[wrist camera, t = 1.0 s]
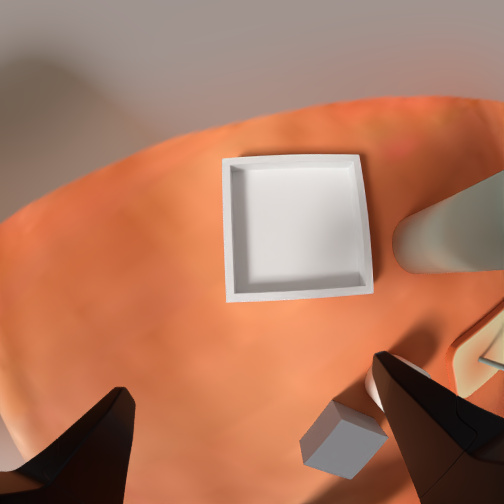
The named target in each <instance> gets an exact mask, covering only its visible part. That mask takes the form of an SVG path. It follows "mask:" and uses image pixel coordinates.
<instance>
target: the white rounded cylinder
mask: <svg viewBox="0 0 504 504" xmlns="http://www.w3.org/2000/svg"><path fill="white" fill-rule="evenodd" d="M393 356H395V357H396V358H398V359H400V360H401V361H403V362H404V363H406V364H408V365H409V366H411V367H413V368H414V369H416V370H417V371H419V372H421V373H422V374H424V375H426V376H427V377H429V378H430V379H431V377H430V375H429V374H428V373H427V372H426V371H424V370H423V369H421V368H419V367H418V366H416V365H414V364H412V363H411V362H409V361H407V360H406V359H404V358H402V357H400V356H398V355H393ZM365 389H366V391H367V393H368V394H369V395H370V397H371V398H372V399H373V400H374V401H375V402H376V404H377V405H378V406H379V407H380V408H381V409H382V411H383V408H382V405H381V401H380V398H379V395H378V391H377V388H376V385H375V382H374V379H373V375H372V366H371V367H370V368H369V370H368V372H367V374H366V378H365ZM383 412H384V411H383Z"/></svg>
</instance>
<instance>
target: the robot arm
mask: <svg viewBox="0 0 504 504" xmlns="http://www.w3.org/2000/svg"><path fill="white" fill-rule="evenodd" d="M372 375H373V379H374V382H375V385H376V388H377V391H378V395H379V398H380V401H381V405H382V408H383V411H384V413H385V416H386V418H387V420H388V422H389V425H390V427H391V429H392V432H393V434H394V436H395V439H396V441H397V443H398V446H399V448H400V451H401V453H402V456H403V458H404V461H405V463H406V465H407V468H408V471H409V473H410V476H411V478H412V481H413V483H414V486H415V489H416V491H417V494H418V497H419V499H420V503H421V504H504V418H502V417H500V416H498V415H495V414H493V413H491V412H489V411H486V410H484V409H482V408H480V407H478V406H476V405H474V404H472V403H470V402H469V401H467V400H465V399H463V398H462V397H460V396H458V395H457V396H456V394H455V393H453V392H452V391H450V390H448V389H447V388H445V387H444V386H442V385H440V384H439V383H437V382H435V381H434V380H432V379H430V378H429V377H427V376H426V375H424V374H422V373H421V372H419V371H417V370H416V369H414V368H413V367H411V366H409V365H408V364H406V363H404V362H403V361H401V360H400V359H398V358H396V357H395V356H393V355H392V354H390V353H388V352H387V351H381V352H378V353H375V354H374V356H373V364H372ZM135 407H136V405H135V401H134V399H133V398H132V396H131V394H130V393H129V391H128V390H127V389H126V388H125V387H115V388H113V389H112V390H111V391H110V392H109V393H108V394H107V395H106V396H105V397H103V398H102V399H101V400H100V401H99V402H98V403H97V404H96V405H94V406H93V407H92V408H91V409H90V410H89V411H88V412H87V413H85V414H84V415H83V416H82V417H81V418H80V419H79V420H78V421H76V422H75V423H74V424H73V425H72V426H71V427H70V428H69V429H67V430H66V431H65V432H64V433H63V434H62V435H61V436H60V437H58V439H56V440H55V441H54V442H53V443H52V444H50V445H49V446H48V447H47V448H46V449H44V450H43V451H42V452H40V453H39V454H38V455H36V456H35V457H34V458H32V459H31V460H29V461H28V462H27V463H25V464H24V465H22V466H21V467H19V468H18V469H16V470H13V471H8V472H0V504H123V500H124V492H125V485H126V478H127V471H128V465H129V459H130V453H131V447H132V441H133V432H134V419H135Z"/></svg>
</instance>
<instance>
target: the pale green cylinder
mask: <svg viewBox="0 0 504 504" xmlns="http://www.w3.org/2000/svg"><path fill="white" fill-rule="evenodd" d="M392 248H393V253H394V256H395V258H396V260H397V262H398V263H399V265H400V266H401V267H402V268H403V269H404V270H405V271H407V272H409V273H411V274H440V273H460V272H477V271H493V270H504V170H503V171H501V172H499V173H497V174H495V175H493V176H491V177H489V178H487V179H485V180H483V181H481V182H479V183H477V184H475V185H473V186H471V187H469V188H467V189H465V190H463V191H461V192H459V193H457V194H455V195H453V196H451V197H449V198H446V199H444V200H442V201H440V202H438V203H436V204H434V205H432V206H430V207H428V208H425V209H423V210H421V211H419V212H417V213H415V214H413V215H411V216H408V217H406V218H404V219H403V220H401V221H400V222H399V224H398V225H397V227H396V228H395V231H394V234H393V239H392Z"/></svg>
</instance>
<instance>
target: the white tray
mask: <svg viewBox="0 0 504 504" xmlns="http://www.w3.org/2000/svg"><path fill="white" fill-rule="evenodd" d="M222 185H223V226H224V256H225V281H226V302H251V301H273V300H292V299H308V298H323V297H336V296H349V295H360V294H371V293H374V291H373V269H372V254H371V241H370V230H369V221H368V212H367V204H366V196H365V189H364V182H363V176H362V169H361V163H360V158H359V155H350V154H298V155H270V156H252V157H237V158H225V159H222Z"/></svg>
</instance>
